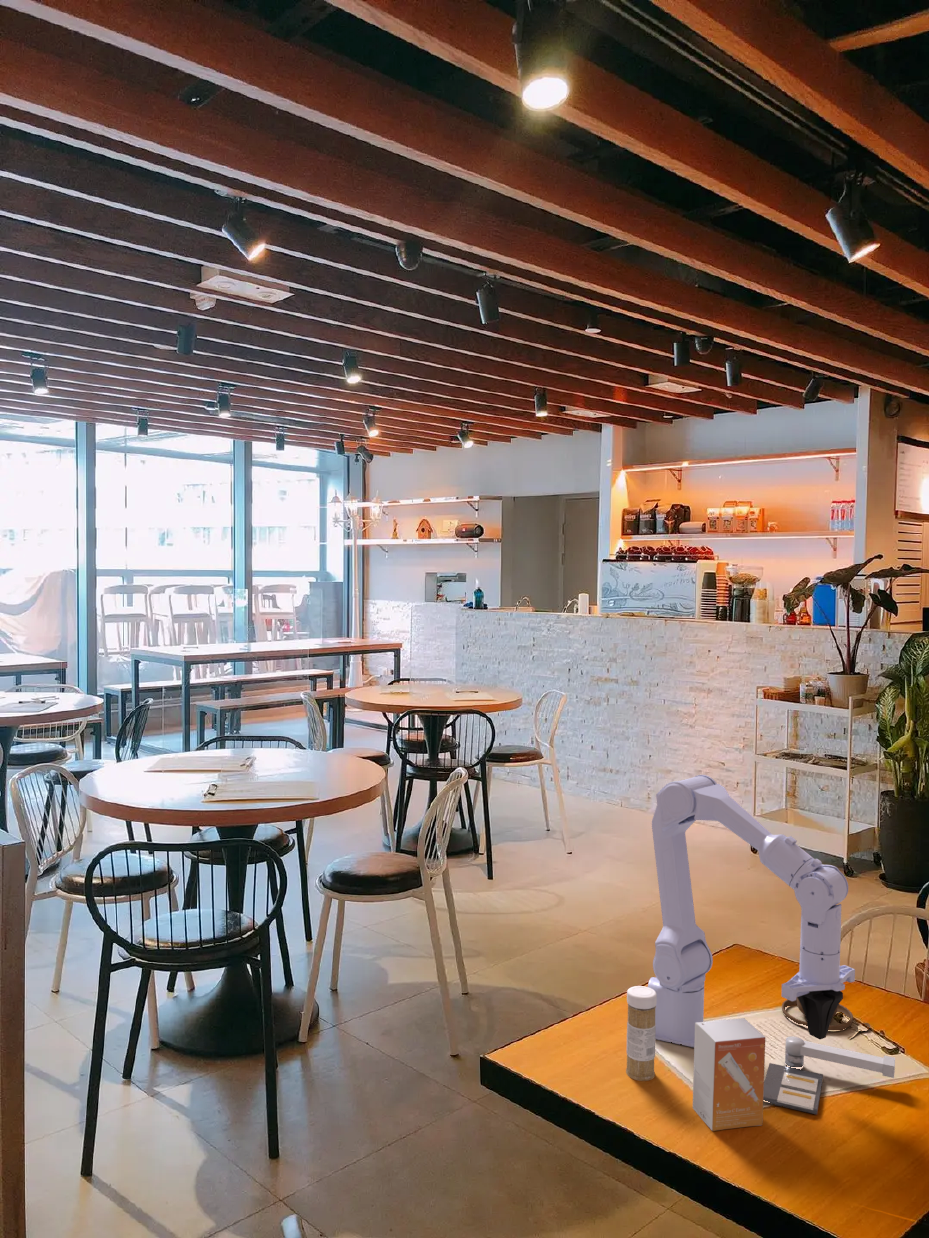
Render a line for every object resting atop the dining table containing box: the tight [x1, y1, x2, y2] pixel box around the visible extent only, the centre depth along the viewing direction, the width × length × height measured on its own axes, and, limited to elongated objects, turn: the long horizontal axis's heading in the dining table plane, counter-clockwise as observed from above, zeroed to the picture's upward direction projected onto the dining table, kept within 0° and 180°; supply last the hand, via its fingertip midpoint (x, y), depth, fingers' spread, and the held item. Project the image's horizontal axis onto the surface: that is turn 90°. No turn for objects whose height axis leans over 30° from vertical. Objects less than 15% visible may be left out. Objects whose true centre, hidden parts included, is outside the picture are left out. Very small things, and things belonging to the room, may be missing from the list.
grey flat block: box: [763, 1051, 824, 1116], centre depth 147 cm, size 8×15×2 cm, turn 155°
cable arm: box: [785, 1035, 896, 1079], centre depth 150 cm, size 16×3×2 cm, turn 63°
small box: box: [692, 1017, 766, 1132], centre depth 138 cm, size 8×6×13 cm
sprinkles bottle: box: [625, 985, 657, 1082], centre depth 149 cm, size 5×5×13 cm
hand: (817, 1035), depth 145 cm, fingers closed
